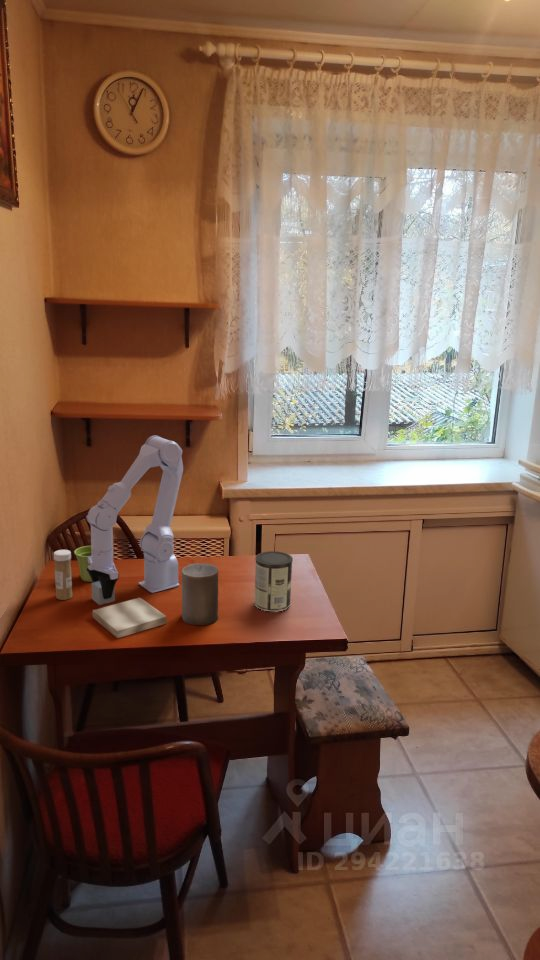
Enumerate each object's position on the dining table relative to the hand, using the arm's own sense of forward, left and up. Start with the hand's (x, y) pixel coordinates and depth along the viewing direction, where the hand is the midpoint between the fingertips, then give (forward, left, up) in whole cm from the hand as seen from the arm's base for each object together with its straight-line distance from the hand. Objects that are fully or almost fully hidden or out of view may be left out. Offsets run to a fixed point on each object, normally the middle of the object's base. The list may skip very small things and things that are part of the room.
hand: (103, 594), depth 189 cm
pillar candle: (-16, +24, -2) cm, 29 cm away
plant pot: (-4, -16, -2) cm, 17 cm away
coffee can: (-37, +29, -2) cm, 47 cm away
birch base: (0, +15, -2) cm, 15 cm away
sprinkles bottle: (+8, -8, -2) cm, 11 cm away
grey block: (0, 0, -2) cm, 2 cm away
